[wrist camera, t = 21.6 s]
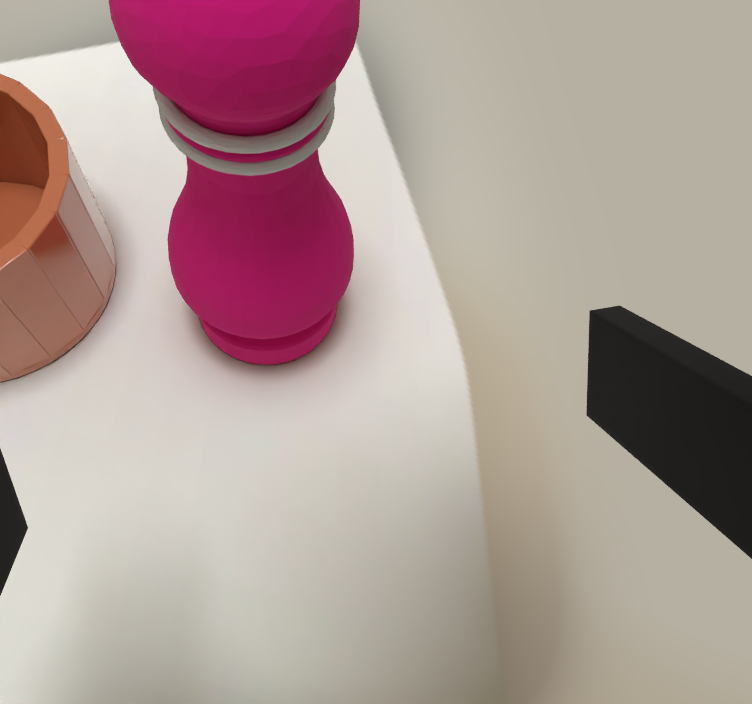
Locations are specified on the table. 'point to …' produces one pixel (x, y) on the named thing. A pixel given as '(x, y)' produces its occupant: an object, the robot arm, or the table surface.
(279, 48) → the pepper mill
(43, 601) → the table surface
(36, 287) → the crock
